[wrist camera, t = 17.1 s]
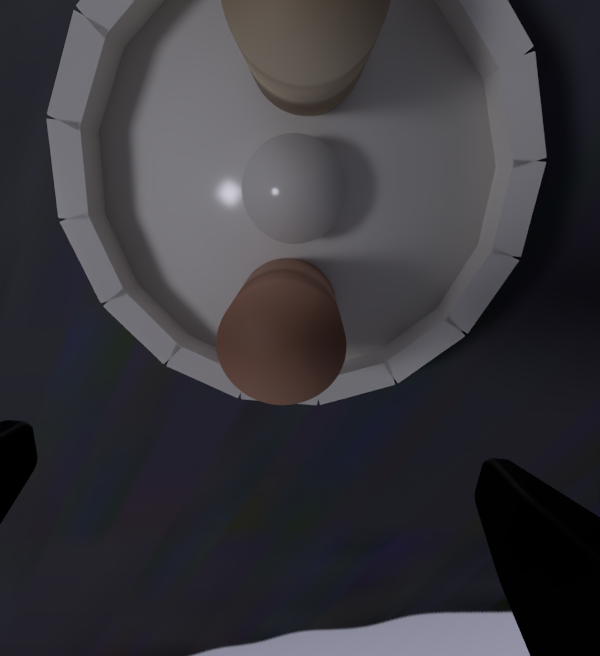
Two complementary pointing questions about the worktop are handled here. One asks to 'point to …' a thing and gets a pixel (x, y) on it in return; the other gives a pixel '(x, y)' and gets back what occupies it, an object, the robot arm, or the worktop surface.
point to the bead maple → (305, 47)
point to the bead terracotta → (283, 334)
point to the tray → (297, 178)
